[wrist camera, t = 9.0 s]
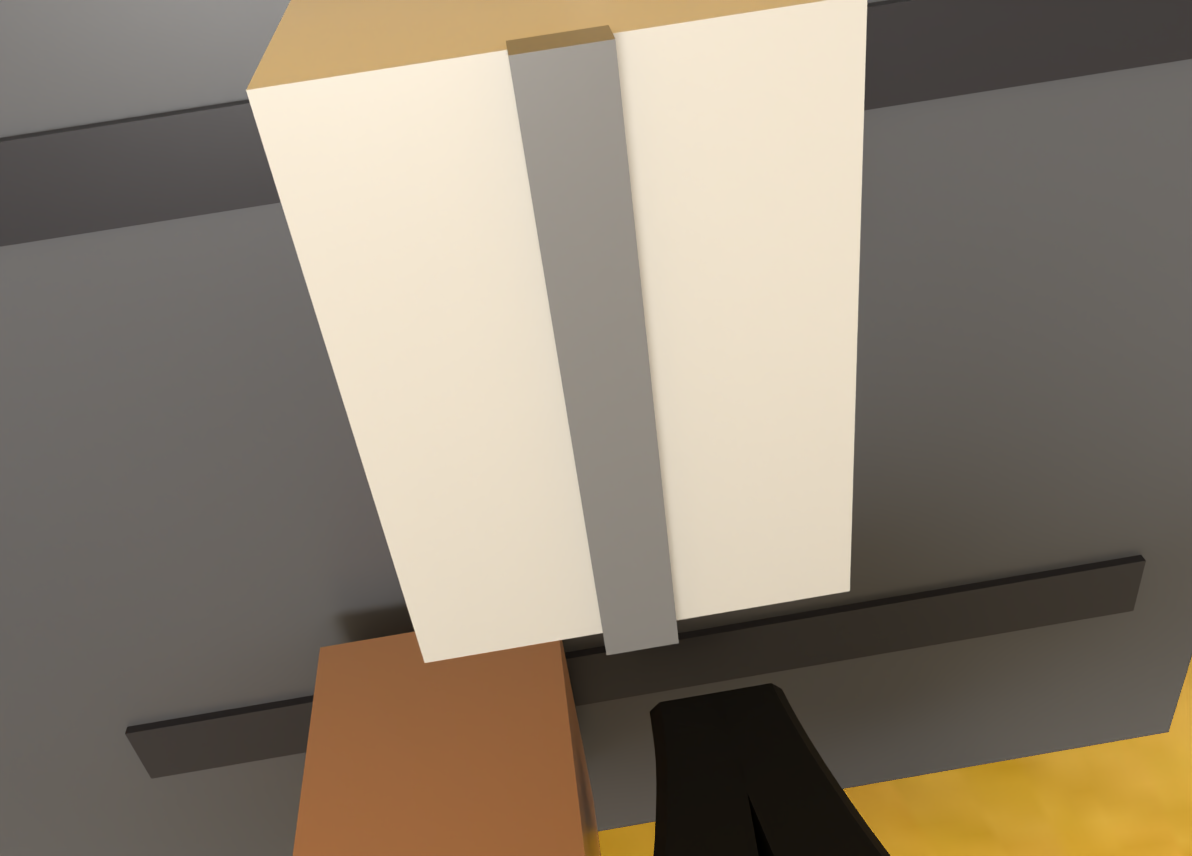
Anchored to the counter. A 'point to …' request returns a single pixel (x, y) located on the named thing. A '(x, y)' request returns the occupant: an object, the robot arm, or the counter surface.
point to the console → (599, 682)
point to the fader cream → (584, 297)
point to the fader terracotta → (444, 755)
